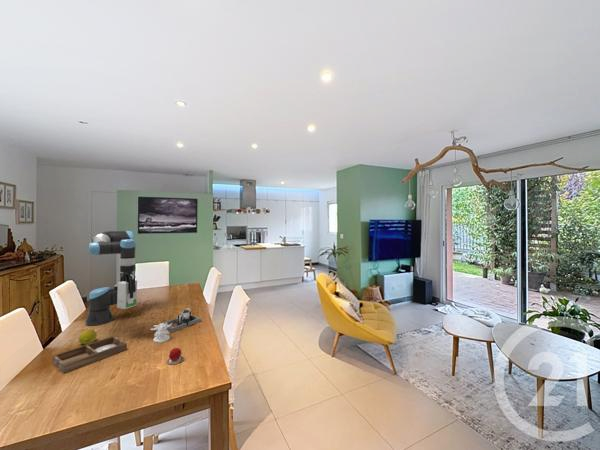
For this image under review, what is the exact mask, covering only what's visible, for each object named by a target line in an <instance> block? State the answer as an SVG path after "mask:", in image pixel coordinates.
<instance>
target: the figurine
mask: <svg viewBox="0 0 600 450" xmlns="http://www.w3.org/2000/svg"><path fill="white" fill-rule="evenodd" d="M172 325H173V324H170V325H167V323H165V324H164V322H160V323H159V324H155V325H153V328H150V330H151V331H155V332H154V333H153V335H154V338H153V339H152V341H153V342H155V343H156V344H162V343H165V342H167V341H169V340H170V338H171V337H170V335H169V333H170V331H169V330H166V329H167V328H168V327H170V326H171V327H172Z"/></svg>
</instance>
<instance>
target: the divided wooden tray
mask: <svg viewBox="0 0 600 450" xmlns="http://www.w3.org/2000/svg"><path fill="white" fill-rule="evenodd" d="M111 344H113V345H116V346H115V347H112V348H109V349H106V350H104V351H101V352H97V351H96V349H97V348H99V347H102V346H105V345H111ZM127 344H128V343H127V342H126V341H124V340H122V339H120V338H118V337H116V336H115V335H112V336H109V337H106V338H103V339H100V340H96V341H94V342H93V343H90V344H87V345H81V346H77V347H75V348H72V349H69V350H66V351H63V352H60V353H57V354H53V355H51V357H52V359H51V361H52V364H53V365H54V366H55V367H56V368H57V369H58V370H59V371H61V372H62V374H66V373H68V372H71V371H74V370H76V369H80V368H82V367H84V366H87V365H90V364H92V363H95V362H98V361H99V360H102V359H105V358H107V357H111V356H113V355H115V354H116V355H117V354H119V353H121V352H124V351H127V349H128V347H127V346H128V345H127Z"/></svg>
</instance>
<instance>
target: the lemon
mask: <svg viewBox="0 0 600 450" xmlns="http://www.w3.org/2000/svg"><path fill="white" fill-rule="evenodd" d="M96 339H97V331H95V330H94V329H90V328H89V329H85V330H83V331H82V332H81V334H80V335H79V337H78V342H79V344H80V345H82V346H84V345H87V344H90V343H93V342H96V341H95V340H96Z"/></svg>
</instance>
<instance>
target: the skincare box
mask: <svg viewBox="0 0 600 450" xmlns="http://www.w3.org/2000/svg"><path fill="white" fill-rule="evenodd" d="M128 284H129V283H128V282H126V281H122V282H118V295H117V304H116V308H117V309H120V310H127V309H129V308H133V307H135V306H137V304H138V303H137V302H138V301H137V300H138V280H137V279H135V286H136V292H134V299H133V303H131V304H128V292H129V290H128Z"/></svg>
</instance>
